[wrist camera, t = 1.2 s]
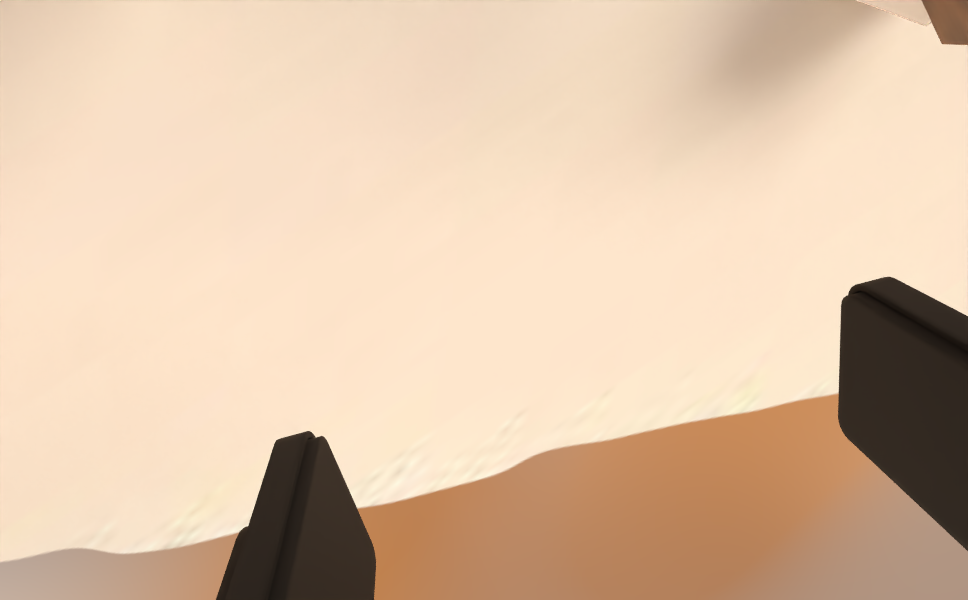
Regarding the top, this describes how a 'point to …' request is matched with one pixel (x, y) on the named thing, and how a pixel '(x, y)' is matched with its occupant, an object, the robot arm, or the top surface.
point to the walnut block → (949, 20)
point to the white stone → (903, 9)
